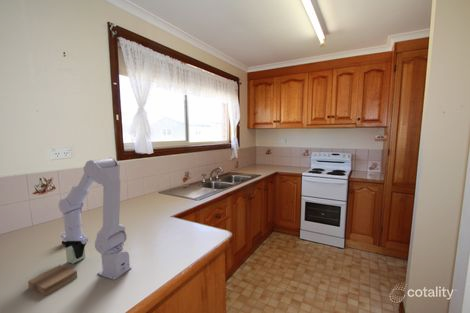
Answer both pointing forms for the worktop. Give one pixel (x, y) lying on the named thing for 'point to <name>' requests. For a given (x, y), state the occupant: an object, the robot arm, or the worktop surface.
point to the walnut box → (52, 280)
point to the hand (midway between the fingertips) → (75, 256)
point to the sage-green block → (73, 255)
